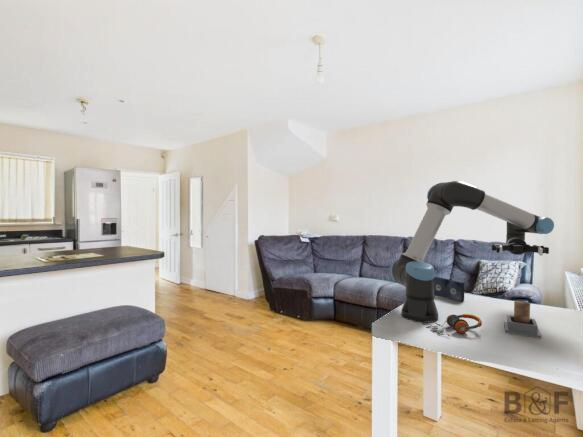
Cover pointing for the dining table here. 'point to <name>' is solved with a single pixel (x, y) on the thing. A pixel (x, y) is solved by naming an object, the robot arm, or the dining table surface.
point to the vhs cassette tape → (449, 289)
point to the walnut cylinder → (522, 312)
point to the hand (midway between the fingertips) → (520, 251)
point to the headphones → (458, 323)
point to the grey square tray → (522, 327)
